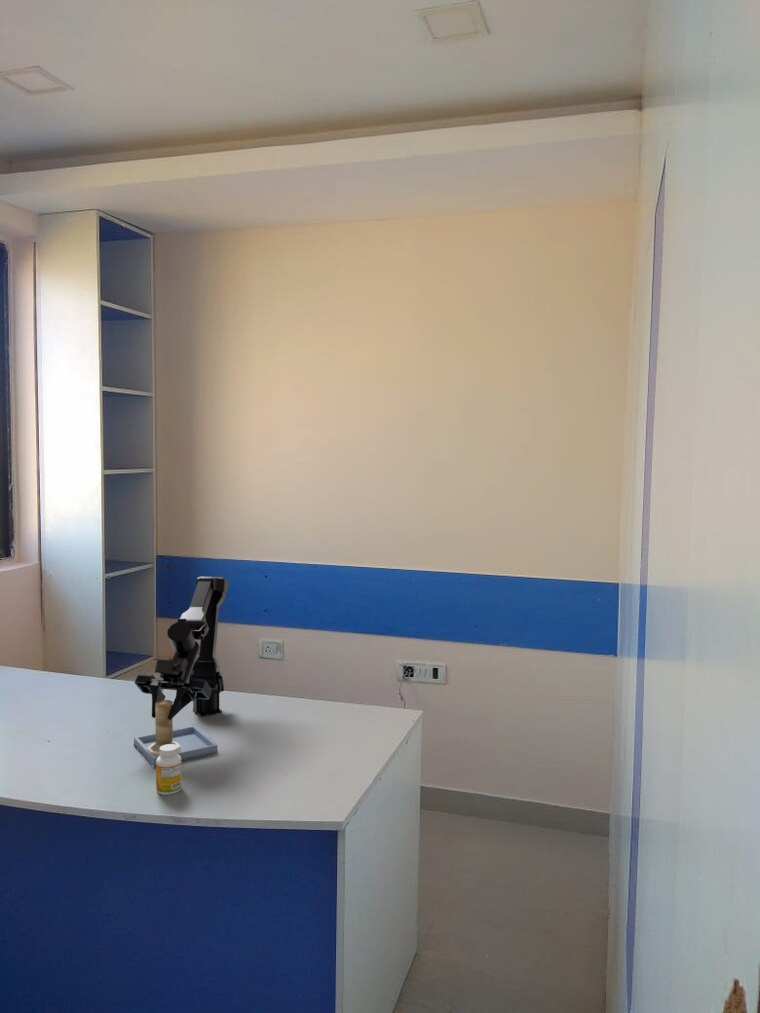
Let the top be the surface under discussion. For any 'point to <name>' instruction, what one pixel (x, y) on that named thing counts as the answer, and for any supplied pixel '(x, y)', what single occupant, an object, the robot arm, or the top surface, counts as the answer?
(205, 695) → the robot arm
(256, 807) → the top surface
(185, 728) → the tray
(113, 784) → the top surface
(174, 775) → the supplement bottle
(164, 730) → the peg
